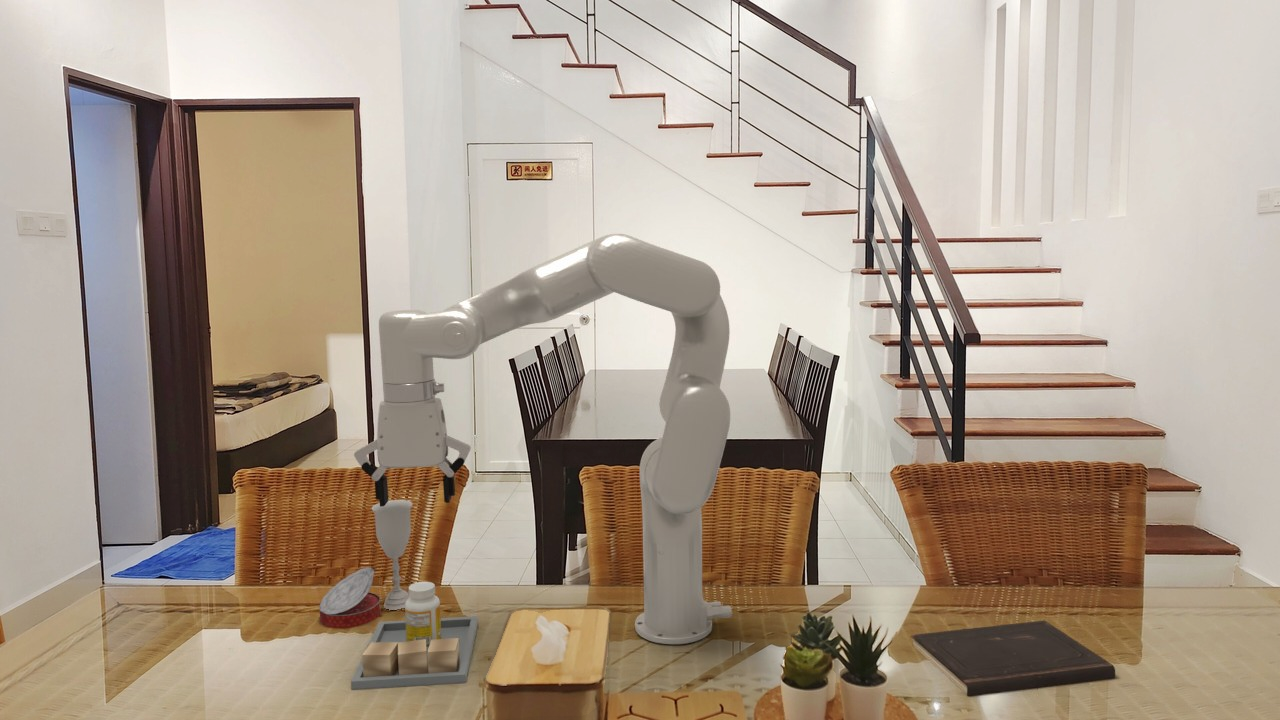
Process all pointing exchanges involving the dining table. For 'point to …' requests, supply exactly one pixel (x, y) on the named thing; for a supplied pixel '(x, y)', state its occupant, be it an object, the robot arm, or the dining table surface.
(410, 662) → the block
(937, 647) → the hardcover book
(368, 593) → the canned food
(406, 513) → the chalice
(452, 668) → the block
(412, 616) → the supplement bottle
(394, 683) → the tray
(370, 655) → the block
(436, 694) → the dining table surface
